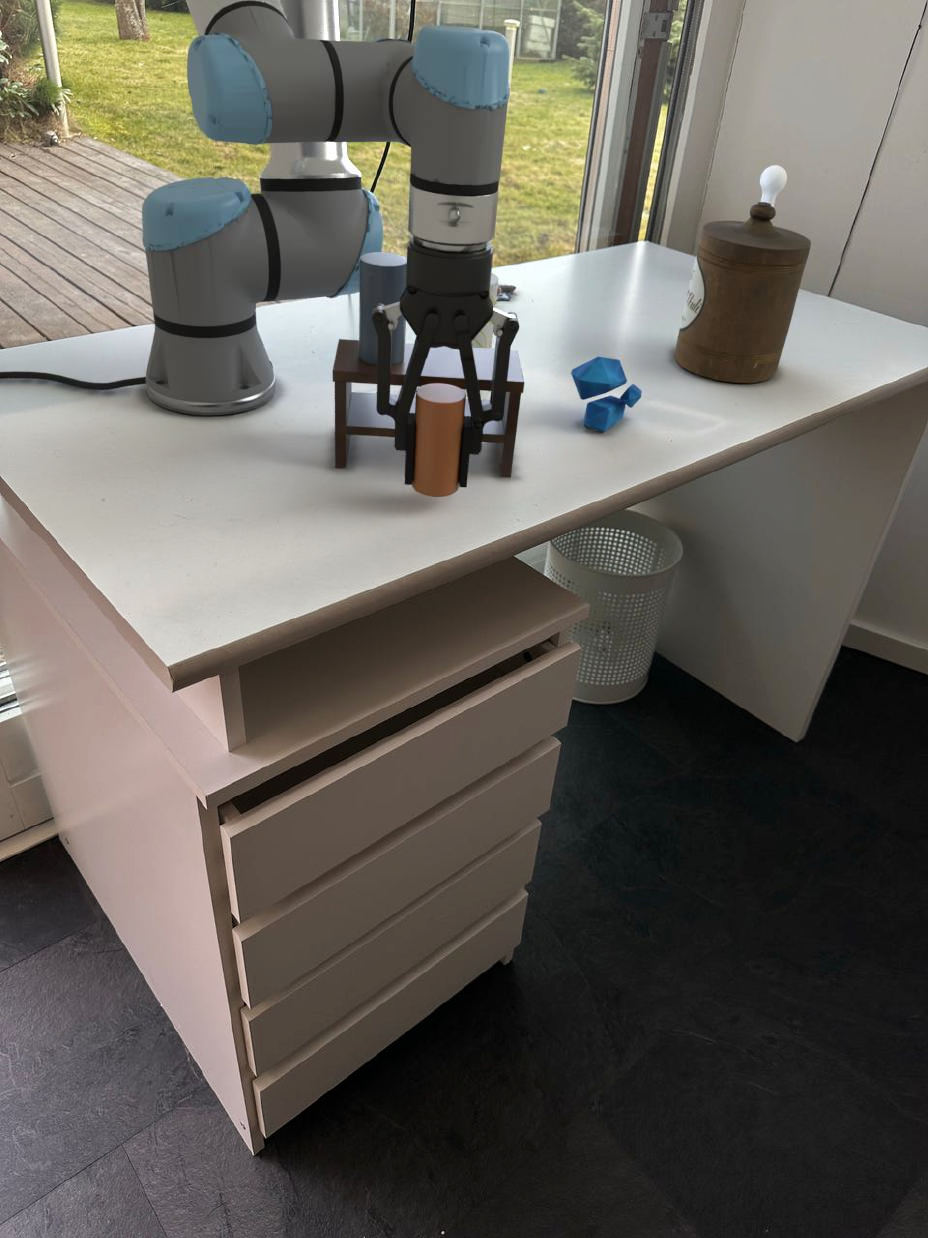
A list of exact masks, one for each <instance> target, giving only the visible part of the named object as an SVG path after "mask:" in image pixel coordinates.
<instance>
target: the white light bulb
mask: <svg viewBox="0 0 928 1238" xmlns="http://www.w3.org/2000/svg"><path fill="white" fill-rule="evenodd" d="M787 181H788V174H787V171H786V170H785V168H784V167H782V166H781V165H778V164H775V165H773V164H772V165H770V166H767V167H766V168H765V169H764V170H763V171H762V172H761V174H760V177H759V186H760V189H761V198H760V201H759V202H767V203H770V204H771V206H772V207H774V208H775V203H776V199H777V196H778V194H779V193H780V192H781V191H782V190H783V189H784V188H785V186H786V184H787Z"/></svg>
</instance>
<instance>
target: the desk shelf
mask: <svg viewBox="0 0 928 1238" xmlns="http://www.w3.org/2000/svg"><path fill="white" fill-rule="evenodd" d="M413 347H414V343H410V342H409V343H408V342H405V357H404V360H403V361H402V362H400V363H398V364H394V365H391V381H390V386H399V387H402V383H403V380H404V377H405V373H406V370H407V367H408V364H409V360H410V357H411V354H412V350H413ZM473 353H474V359H475V365H476V371H477V377H478V383H479V389H480V392H481V391H483V392H491V385H492V375H493V364H494V353H495V348H492V349H487V348H473ZM334 357H335V358H334V362H333V366H332V382H333V383H334V468H335V469H347V464H348V458H349V452H350V445H351V437H352V436H363V437H364V436H365V437H381V438H382V437H384V438H394V437H395V421H394V419H393V418H392V417H390V416H388V415H380V414H378V412H377V409H376V408H377V392H360V391H359V392H358V391H352V390H353V389H352V386H353V384H365V385H366V384H367V385H377V368H378V365H374V364H370V363H367V362H364V361H363V360H361V359H360V358H359V339H343V338H339V339H338V341H337V347H336V352H335V356H334ZM433 383H441V384H449V385H453V386H456V387H459V388H460V389H462V390H463V391H465V390H466V385H465V380H464V374H463V368H462V363H461V358H460V352H459V349H451V348H448V347H445V346H443V347H438V348H430V351H429V354H428V357H427V359H426V361H425V364H424V368H423V371H422V374H421V377H420V380H419V384H418V387H417V388H419V387H421V386H423V385H426V384H433ZM524 389H525V379H524V375H523V370H522V366H521V361H520V356H519V352H518V350H515V349H510V359H509V368H508V378H507V388H506V397H505V407H504V416H503V419H502V420H501V421H490V422H487V423H486V424H485V426H484V428H483V436H482V443H487V444H488V443H490V444H495V450H496V456H497V463H498V470H499V471H498V472H499V476H500V477H501V478H511V477H512V473H513V464H514V457H515V456H514V455H515V449H516V448H515V447H516V439H517V431H518V424H519V416H520V415H519V414H520V407H521V400H522V399H521V398H522V394H523V393H524ZM398 396H399V394H393V393H390V398H392V399H394V400H398ZM481 401H482V405H486V404H489V403H490V399H481ZM415 402H416V395H415V396H414V399H413V403H412V406H411V409H410V412H409V413H415ZM464 416H471V414H470V408H469V402H468V398H466V402H465V415H464Z"/></svg>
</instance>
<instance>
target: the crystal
mask: <svg viewBox="0 0 928 1238" xmlns="http://www.w3.org/2000/svg"><path fill="white" fill-rule="evenodd" d="M570 375H571V377H572V379H573V382H574V385H575V387H576V390H577V393H578V395H579V399H580V400H582V401H584V400H588V399H591V398H595V397H598V396H602V395H604V394H605V395H606V394H608V393H610V392H612V391H613V390H615V389H618V388H620V387H622V386H625V385H626V384H627V382H628V380H627V379H628V378H627V376H626V374H625V370H624V368H623V365H622V363H621V360H620V359H617V358H612V357H604V356H596V357H594V358H592V359H590V360H588V361H586V362H584V363H582V364H580V365H578V366H576V367H575V368H573V369H571V371H570ZM641 398H642V390H641V388H639V387H638V386H637V385H636V384H634V383H632V384H631V385H629V386H628V387H627V389H626V390H624V392H623V393H622V394H621V395H620V397H617V396H614V395H607V396H604V397H601V398H597V399H594V400H592V401H589V402H587V403H586V407H585V412H584V416H583V423H582V424H583V426H584V427H585V428H588V429H591V430H594V431H597V432H599V433H605V432H606V431H608V430H609V429H610V428H611V427H613V426H614V425H616V424H617V423H618V422H619V421H621V420H622V419H623V418H624V415H625V410H626V406H627V407H628V408H633V407H634V406H635V405H636V404H637V403H638V401H639V400H640V399H641Z"/></svg>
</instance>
